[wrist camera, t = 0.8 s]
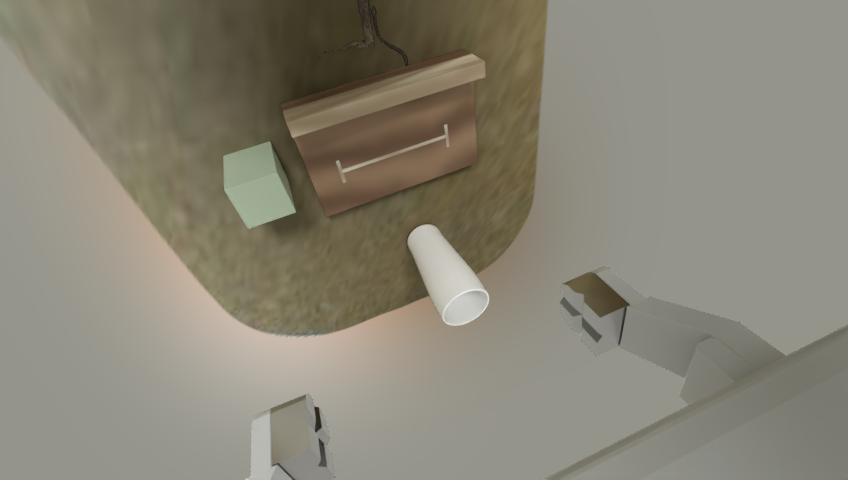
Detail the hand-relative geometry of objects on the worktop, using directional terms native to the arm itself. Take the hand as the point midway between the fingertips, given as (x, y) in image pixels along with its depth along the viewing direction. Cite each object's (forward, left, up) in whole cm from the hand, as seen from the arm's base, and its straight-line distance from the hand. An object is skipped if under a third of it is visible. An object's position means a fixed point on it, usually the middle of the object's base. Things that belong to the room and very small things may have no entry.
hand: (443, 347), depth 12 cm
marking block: (+11, -8, -36) cm, 39 cm away
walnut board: (+12, +8, -36) cm, 39 cm away
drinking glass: (+30, +9, -36) cm, 48 cm away
